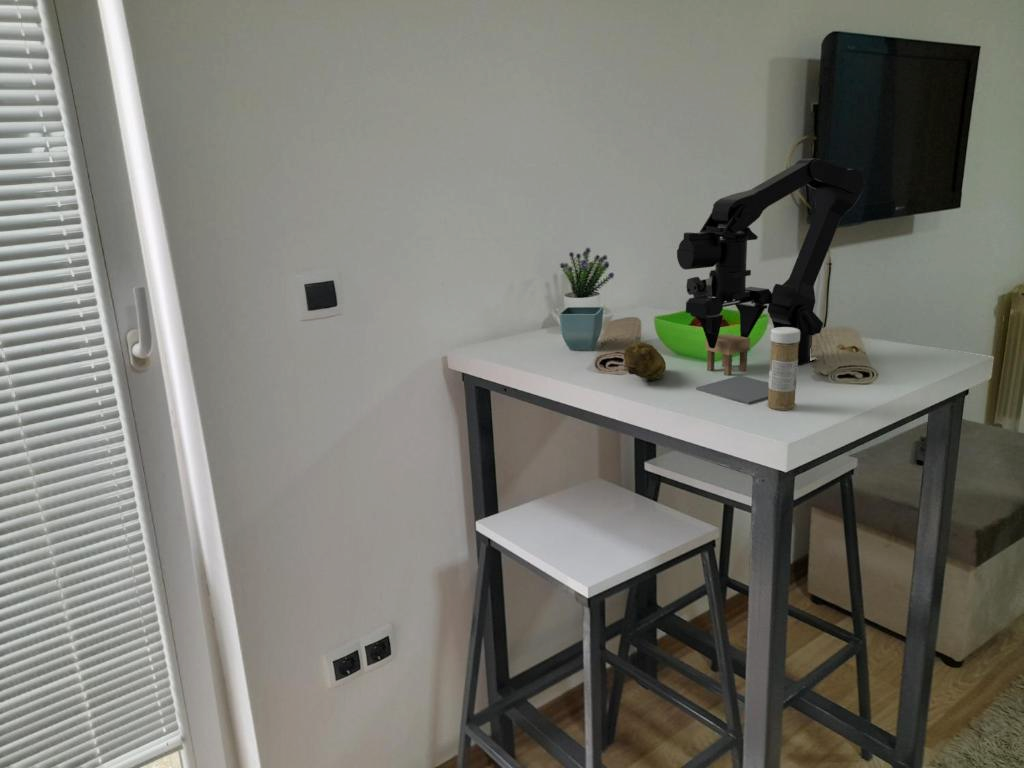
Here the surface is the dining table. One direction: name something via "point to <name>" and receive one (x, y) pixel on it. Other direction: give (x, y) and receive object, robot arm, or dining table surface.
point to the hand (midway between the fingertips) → (728, 344)
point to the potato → (644, 361)
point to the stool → (728, 352)
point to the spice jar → (783, 368)
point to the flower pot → (581, 326)
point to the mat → (739, 389)
